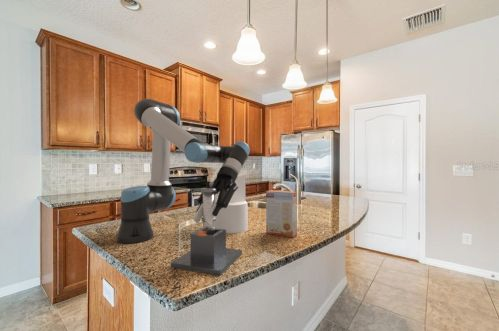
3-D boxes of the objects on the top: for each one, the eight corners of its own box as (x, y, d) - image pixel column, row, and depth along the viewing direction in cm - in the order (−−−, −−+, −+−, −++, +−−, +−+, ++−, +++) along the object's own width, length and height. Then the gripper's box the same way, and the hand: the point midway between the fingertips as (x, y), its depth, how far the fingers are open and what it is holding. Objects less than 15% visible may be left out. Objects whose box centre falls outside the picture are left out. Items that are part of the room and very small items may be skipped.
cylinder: (209, 227, 126) (209, 175, 126) (238, 223, 134) (238, 174, 134) (222, 235, 111) (222, 176, 111) (253, 230, 119) (253, 175, 119)
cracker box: (297, 234, 111) (297, 191, 111) (292, 238, 106) (292, 192, 106) (271, 230, 119) (271, 189, 119) (265, 233, 114) (265, 190, 114)
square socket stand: (170, 267, 76) (170, 232, 76) (199, 248, 93) (199, 220, 93) (220, 275, 70) (220, 238, 70) (241, 254, 87) (241, 224, 87)
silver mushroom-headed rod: (198, 253, 80) (198, 189, 80) (206, 248, 85) (205, 187, 85) (211, 255, 78) (211, 189, 78) (218, 250, 83) (218, 188, 83)
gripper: (251, 179, 91) (227, 231, 76) (215, 177, 99) (187, 224, 85) (244, 165, 86) (217, 218, 72) (207, 165, 95) (176, 213, 80)
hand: (201, 222), depth 78 cm, fingers closed on silver mushroom-headed rod, 4 cm apart
